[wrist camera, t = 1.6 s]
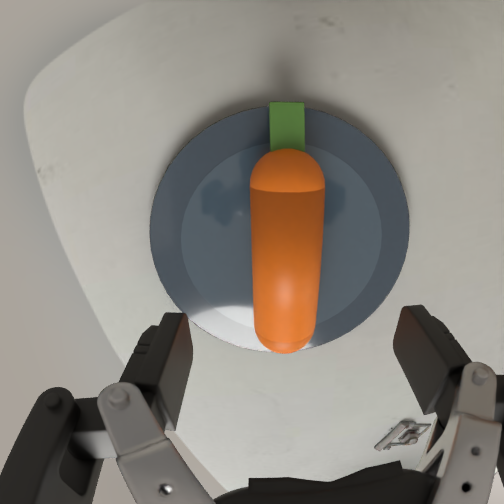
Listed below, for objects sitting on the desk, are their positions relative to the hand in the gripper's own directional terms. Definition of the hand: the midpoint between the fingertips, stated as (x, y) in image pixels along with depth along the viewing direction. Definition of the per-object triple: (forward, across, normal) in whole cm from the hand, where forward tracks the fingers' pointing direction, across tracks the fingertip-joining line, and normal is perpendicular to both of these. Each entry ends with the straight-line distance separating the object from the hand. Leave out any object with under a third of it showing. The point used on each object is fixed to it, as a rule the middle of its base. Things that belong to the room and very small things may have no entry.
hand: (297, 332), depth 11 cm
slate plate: (+8, 0, 0) cm, 8 cm away
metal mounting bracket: (+9, -12, +26) cm, 30 cm away
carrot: (+7, 0, -1) cm, 8 cm away
